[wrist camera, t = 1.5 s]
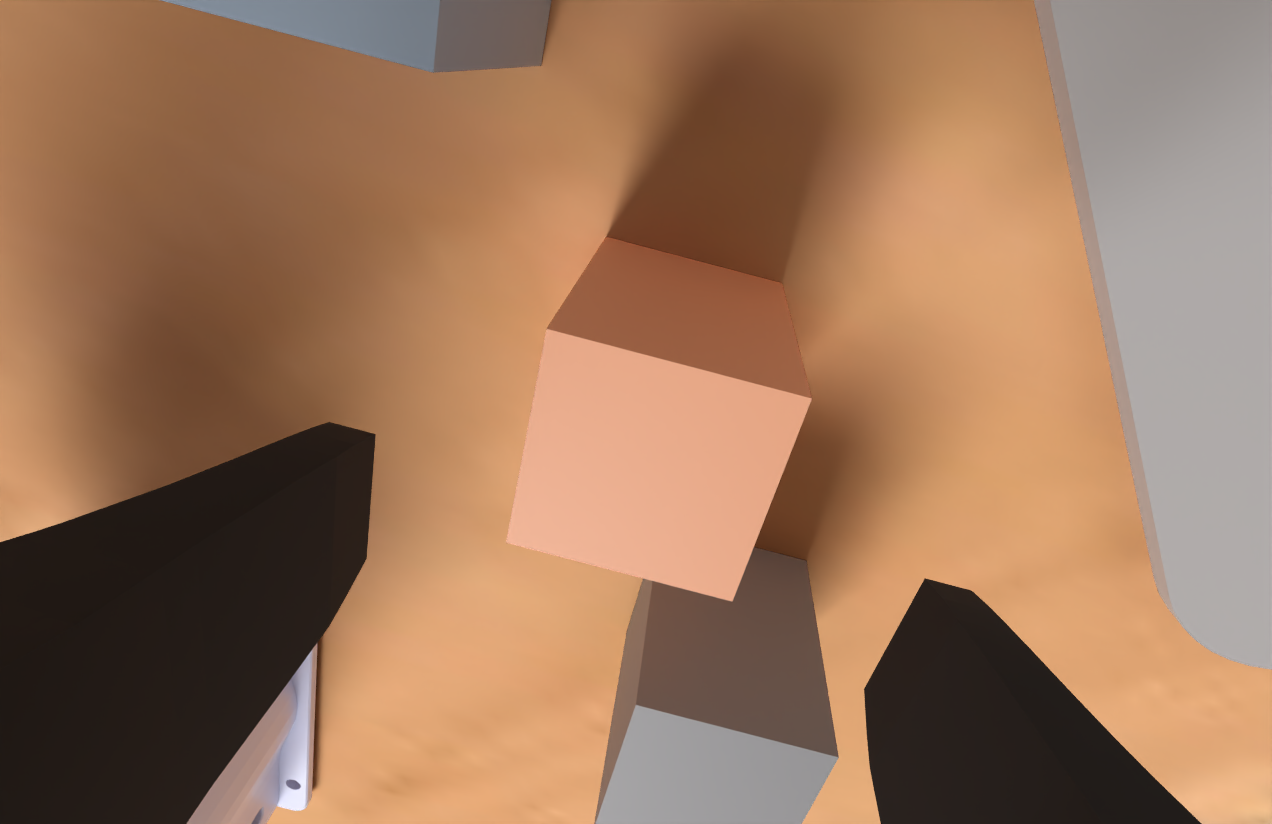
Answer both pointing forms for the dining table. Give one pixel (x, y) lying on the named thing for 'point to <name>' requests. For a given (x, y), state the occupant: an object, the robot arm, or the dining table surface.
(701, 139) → the dining table surface
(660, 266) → the terracotta block
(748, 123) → the dining table surface
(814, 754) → the gray block
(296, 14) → the slate-blue block
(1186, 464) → the tablet
